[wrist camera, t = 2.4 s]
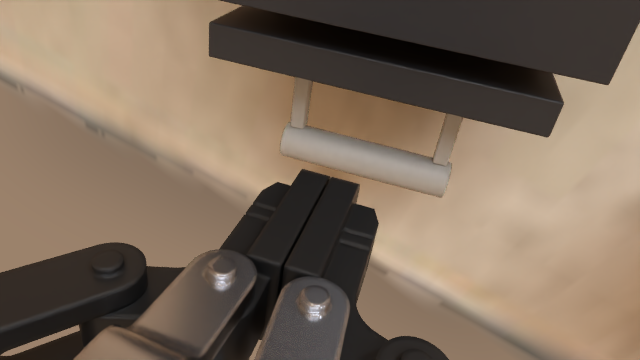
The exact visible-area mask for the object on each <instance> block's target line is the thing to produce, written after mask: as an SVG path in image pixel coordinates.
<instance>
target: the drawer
mask: <svg viewBox="0 0 640 360" xmlns="http://www.w3.org/2000/svg"><path fill="white" fill-rule="evenodd" d="M209 56H210V57H214V58H218V59H222V60H227V61H231V62H235V63H239V64H243V65H247V66H252V67H256V68H260V69H264V70H268V71H272V72H277V73H281V74H285V75H289V76H293V77H296V78H295V87H294V95H293V104H292V113H291V122H288V124H287V125H286V127H285V129H284V131H283V134H282V138H281V143H280V153H281V155H283V156H287V157H291V158H294V159H298V160H302V161H305V162H309V163H313V164H317V165H320V166H324V167H328V168H331V169H335V170H339V171H343V172H346V173H350V174H354V175H358V176H361V177H365V178H369V179H372V180H376V181H380V182H384V183H387V184H391V185H395V186H399V187H402V188H406V189H410V190H413V191H417V192H421V193H425V194H428V195H432V196H436V197H440V198H442V197H443V196H444V193H445V191H446V188H447V185H448V181H449V177H450V173H451V169H452V163H451V162H449V159H450V156H451V153H452V150H453V147H454V144H455V140H456V137H457V134H458V131H459V128H460V125H461V122H462V119H463V117H464V118H468V119H473V120H477V121H481V122H485V123H489V124H493V125H498V126H502V127H506V128H510V129H514V130H518V131H523V132H527V133H531V134H535V135H539V136H544V137H549V136H550V134H551V132H552V130H553V127H554V125H555V123H556V121H557V118H558V116H559V114H560V112H561V109H562V107H563V105H564V102H563V99H562V97H561V94H560V91H559V89H558V86H557V83H556V81H555V78H554V75H553V73H549V72H545V71H540V70H535V69H531V68H526V67H522V66H517V65H513V64H508V63H503V62H499V61H494V60H490V59H485V58H481V57H476V56H471V55H467V54H462V53H458V52H453V51H449V50H444V49H439V48H435V47H430V46H426V45H421V44H417V43H412V42H407V41H403V40H398V39H394V38H389V37H385V36H380V35H375V34H371V33H366V32H362V31H357V30H353V29H348V28H343V27H339V26H334V25H330V24H325V23H321V22H316V21H311V20H307V19H302V18H298V17H293V16H289V15H284V14H279V13H275V12H270V11H266V10H261V9H257V8H252V7H247V6H241V7H239V8H237V9H235V10H233V11H231V12H229V13H227V14H225V15H223V16H221V17H219V18H217V19H215V20H213V21H211V22H210V23H209ZM313 81H314V82H318V83H322V84H327V85H331V86H335V87H339V88H343V89H347V90H352V91H356V92H360V93H364V94H368V95H372V96H377V97H381V98H385V99H389V100H393V101H398V102H402V103H406V104H410V105H414V106H418V107H423V108H427V109H431V110H435V111H439V112H443V113H446V116H445V120H444V123H443V126H442V129H441V133H440V136H439V139H438V142H437V146H436V149H435V152H434V156H433V158H432V157H428V156H424V155H420V154H416V153H412V152H408V151H404V150H401V149H397V148H393V147H389V146H385V145H381V144H377V143H373V142H369V141H365V140H361V139H357V138H354V137H350V136H346V135H342V134H338V133H334V132H330V131H326V130H322V129H318V128H314V127H311V126H307V125H306V124H307V120H308V113H309V105H310V98H311V90H312V83H313Z"/></svg>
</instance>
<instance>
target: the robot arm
mask: <svg viewBox="0 0 640 360" xmlns="http://www.w3.org/2000/svg"><path fill="white" fill-rule="evenodd" d="M359 187H360V184H356V183H353V182H349V181H345V180H342V179H338V178H334V177H331V179H330V176H327V175H323V174H319V173H316V172H312V171H308V170H305V169H302V170H301V171H300V173H299V174H298V176H297V177H296V179H295V180H294V182H293V183H292V185H291V186H290V185H286V184H282V183H279V182H277V183H275V184H273V185H271V186H270V187H268V188H266V189H264V190H262V191H261V193H260V194H259V196H258V197H257V198H256V200H255V201H254V202H253V205H251V206H250V208H249V209H248V211H247V212H246V215H244V216H243V217H242V219H241V220H240V221H239V223H238V224H237V226H236V227H235V228H234V230H233V231H232V232H231V234H230V235H229V236H228V238H227V239H226V241H225V242H224V243H223V245H222V246H221V248H220V249H219V250H212V251H208V252H205V253H203V254H201V255H199V256H197V257H196V258H194V259H193V261H191V262H190V263H189V264H188V266H187V267H182V268H169V267H150V266H149V267H148V266H146V258H145V256H144V254H143V253H142V252H141V251H140V250H139V249H138V248H136V247H134V246H132V245H129V244H125V243H104V244H100V245H96V246H93V247H89V248H85V249H82V250H79V251H75V252H71V253H68V254H65V255H61V256H57V257H54V258H51V259H47V260H43V261H40V262H36V263H33V264H30V265H26V266H22V267H19V268H15V269H12V270H9V271H5V272H1V273H0V355H1V354H2V353H4V352H6V351H8V350H10V349H13V348H16V347H18V346H21V345H24V344H27V343H29V342H32V341H35V340H38V339H41V338H43V337H46V336H49V335H52V334H54V333H57V332H60V331H62V330H65V329H68V328H71V327H73V326H76V325H79V328H80V331H78V332H75V333H72V334H70V335H67V336H64V337H61V338H59V339H56V340H53V341H51V342H48V343H45V344H43V345H40V346H37V347H35V348H32V349H29V350H26V351H24V352H21V353H18V354H15V355H12V356H0V360H249V357H250V356H251V354H252V352H253V350H254V348H255V346H256V344H257V342H258V340H262V341H261V344H260V346H259V349H258V352H257V354H256V357H255V359H254V360H449V359H448V358H447V357H446V356H445V354H444V353H443V352H442V351H441V350H440V349H438V348H437V347H436V346H434V345H433V344H431V343H429V342H428V341H425V340H423V339H420V338H417V337H411V336H401V337H396V338H393V339H391V340H389V341H388V340H387V339H385V338H384V337H382V336H381V335H379V334H378V333H376V332H375V331H373V330H372V329H371V328H370V327H369V326H368V325H367V324H366V323H365V322H364V321H363V320H362V318H361V317H360V315H359V313H358V310H357V307H356V303H357V300H358V296H359V293H360V290H361V287H362V283H363V280H364V277H365V274H366V271H367V267H368V263H369V259H370V255H371V251H372V248H373V244H374V240H375V236H376V232H377V228H378V224H379V223H378V220H377V216H376V213H375V210H374V209H372V208H369V207H365V206H362V205H358V204H356V202H357V198H358V193H359Z"/></svg>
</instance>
